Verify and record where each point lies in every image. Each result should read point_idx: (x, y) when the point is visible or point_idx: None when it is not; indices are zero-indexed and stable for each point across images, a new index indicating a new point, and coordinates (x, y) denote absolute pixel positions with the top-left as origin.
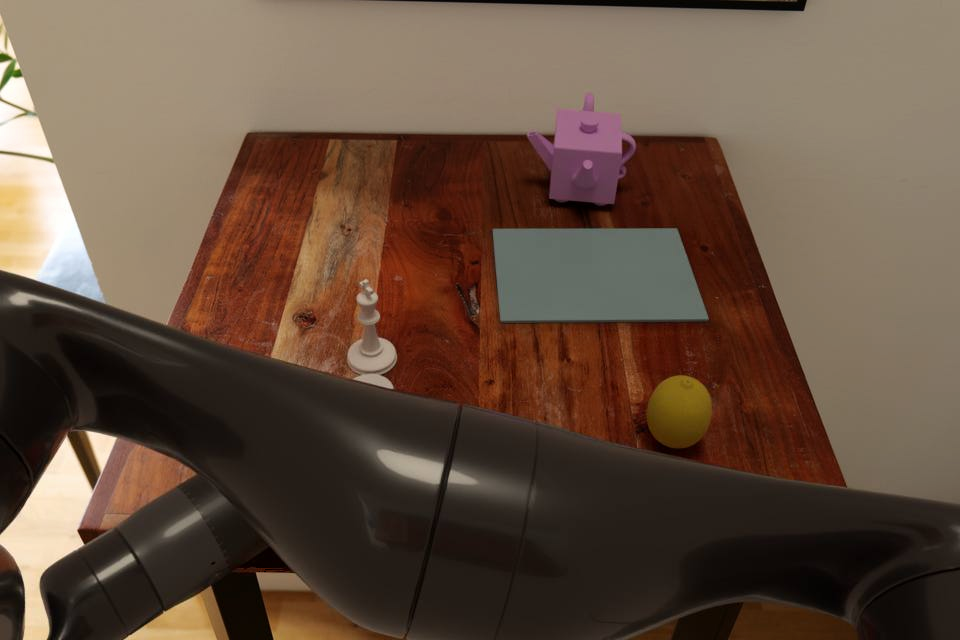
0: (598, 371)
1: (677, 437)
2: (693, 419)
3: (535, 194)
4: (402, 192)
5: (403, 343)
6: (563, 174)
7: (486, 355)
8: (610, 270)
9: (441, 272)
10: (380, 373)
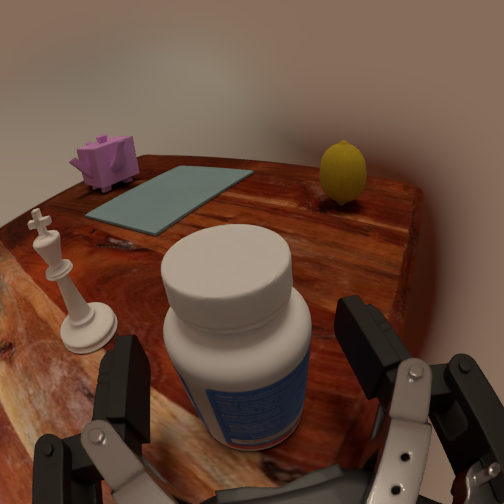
0: (254, 210)
1: (364, 180)
2: (364, 160)
3: (91, 197)
4: (13, 243)
5: (101, 298)
6: (105, 166)
7: None
8: (178, 185)
9: (76, 248)
10: (113, 332)
